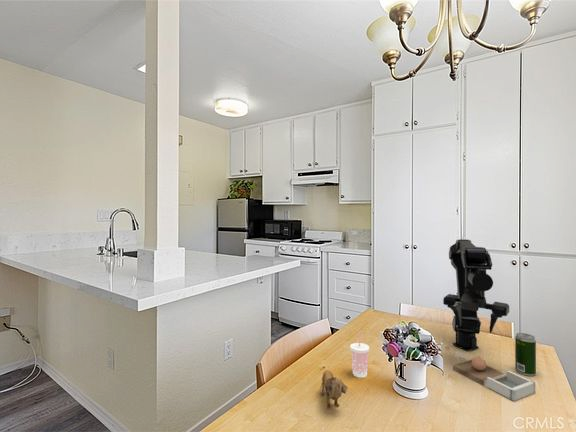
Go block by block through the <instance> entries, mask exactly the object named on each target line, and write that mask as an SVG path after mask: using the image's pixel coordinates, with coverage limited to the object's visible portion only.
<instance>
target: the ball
mask: <svg viewBox="0 0 576 432" xmlns="http://www.w3.org/2000/svg"><path fill="white" fill-rule="evenodd" d="M471 360H472V365H473V367H474V368H475V369H477V370H484V369H485V368H486V365H487V362H486V360H485V359H484V358H482V357H480V356H475V357H473V358H472V359H471Z"/></svg>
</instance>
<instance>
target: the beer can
mask: <svg viewBox="0 0 576 432" xmlns="http://www.w3.org/2000/svg"><path fill="white" fill-rule="evenodd" d="M514 342H515V343H514V346H515V347H514V348H515V349H514V350H515V351H514V356H515V357H514V359H515V360H514V362H515V363H514V364H515V365H514V366H515V370H516V373H519V374H521V375H523V376H525V377H526V376H527V377H534V376H536V374H537V341H536V337H535V336H534V335H532V334H529V333H523V332H516V333H515V336H514Z"/></svg>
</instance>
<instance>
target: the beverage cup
mask: <svg viewBox="0 0 576 432" xmlns="http://www.w3.org/2000/svg"><path fill="white" fill-rule="evenodd" d="M350 351H351V364H352V374H354V375H353V376H354V377H357V378H360V379H361V378H366V377H367V376H368V366H369V365H368V362H369V351H370V346H369V345H368V344H366V343H363V342H361V331H358V342H354V343H351V344H350Z"/></svg>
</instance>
